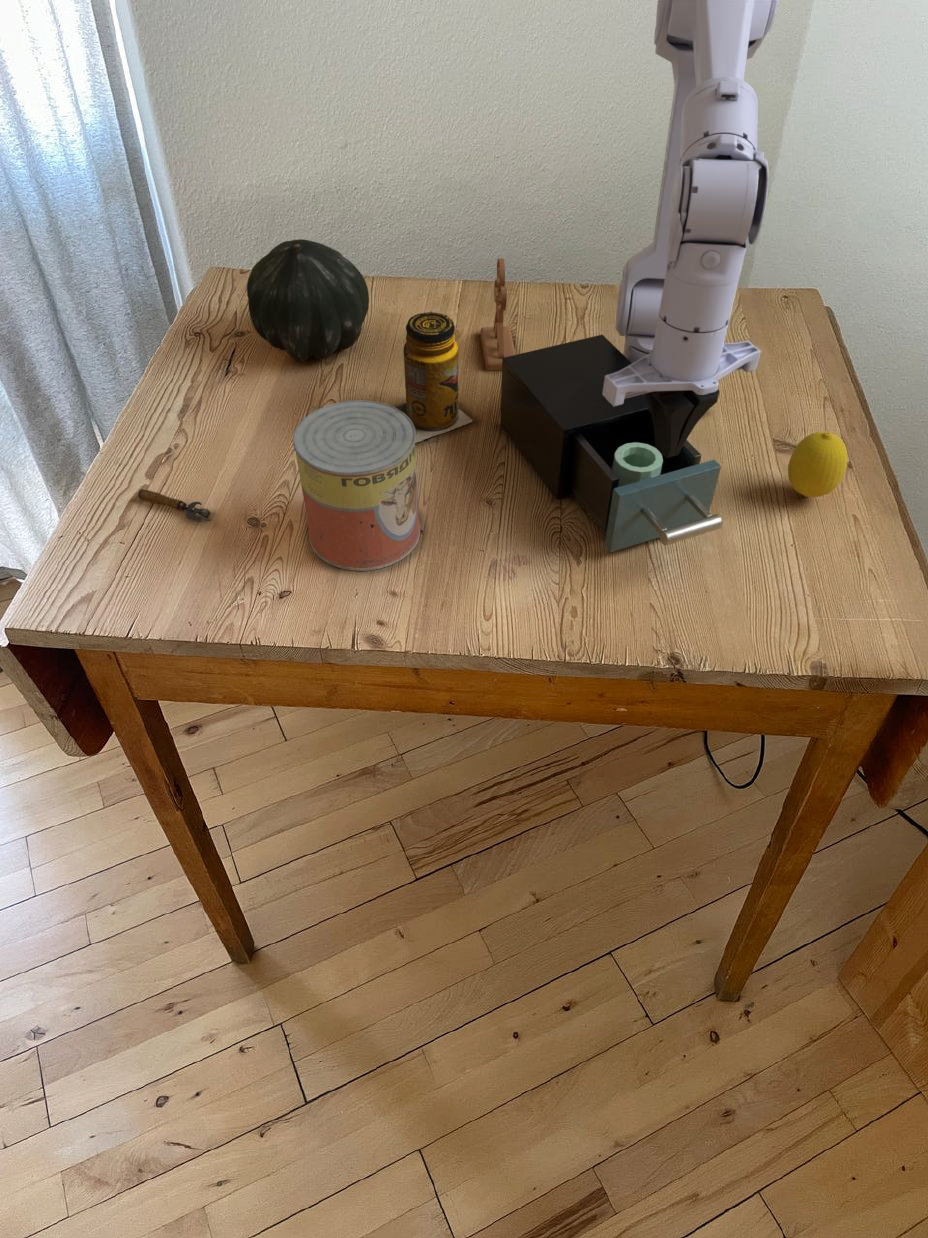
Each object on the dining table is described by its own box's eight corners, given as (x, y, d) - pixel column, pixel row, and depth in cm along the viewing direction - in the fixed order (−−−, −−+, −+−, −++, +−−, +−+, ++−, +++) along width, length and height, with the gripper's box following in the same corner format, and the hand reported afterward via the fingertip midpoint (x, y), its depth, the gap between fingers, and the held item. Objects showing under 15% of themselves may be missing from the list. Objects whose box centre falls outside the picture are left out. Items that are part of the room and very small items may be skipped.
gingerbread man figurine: (480, 333, 118) (481, 243, 110) (509, 332, 119) (513, 242, 110) (486, 370, 112) (488, 278, 103) (517, 369, 113) (522, 277, 104)
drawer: (734, 553, 89) (752, 496, 83) (635, 585, 86) (647, 528, 80) (638, 449, 100) (648, 393, 95) (548, 474, 97) (553, 417, 92)
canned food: (377, 586, 87) (367, 488, 78) (286, 544, 91) (267, 446, 82) (441, 520, 93) (439, 423, 84) (353, 483, 97) (342, 387, 88)
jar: (639, 476, 95) (646, 437, 91) (663, 504, 92) (672, 464, 88) (600, 488, 94) (605, 448, 90) (623, 515, 91) (630, 476, 87)
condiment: (473, 422, 105) (474, 327, 96) (410, 446, 102) (405, 350, 93) (439, 392, 109) (437, 299, 100) (378, 414, 106) (370, 320, 97)
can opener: (138, 500, 95) (135, 492, 94) (153, 488, 96) (150, 479, 96) (206, 528, 92) (203, 519, 91) (220, 515, 94) (218, 506, 93)
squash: (318, 257, 121) (253, 198, 107) (406, 294, 116) (349, 236, 102) (271, 353, 122) (201, 307, 108) (356, 394, 117) (293, 351, 103)
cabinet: (657, 471, 99) (671, 401, 92) (557, 500, 95) (563, 430, 89) (593, 401, 108) (602, 334, 101) (499, 426, 104) (502, 357, 98)
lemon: (834, 485, 97) (858, 423, 91) (831, 517, 94) (856, 454, 88) (782, 474, 98) (802, 412, 93) (777, 506, 95) (797, 443, 89)
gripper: (642, 357, 70) (620, 495, 80) (797, 320, 74) (757, 456, 84) (598, 315, 74) (582, 450, 84) (746, 282, 78) (713, 415, 88)
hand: (666, 450), depth 84 cm, fingers closed
